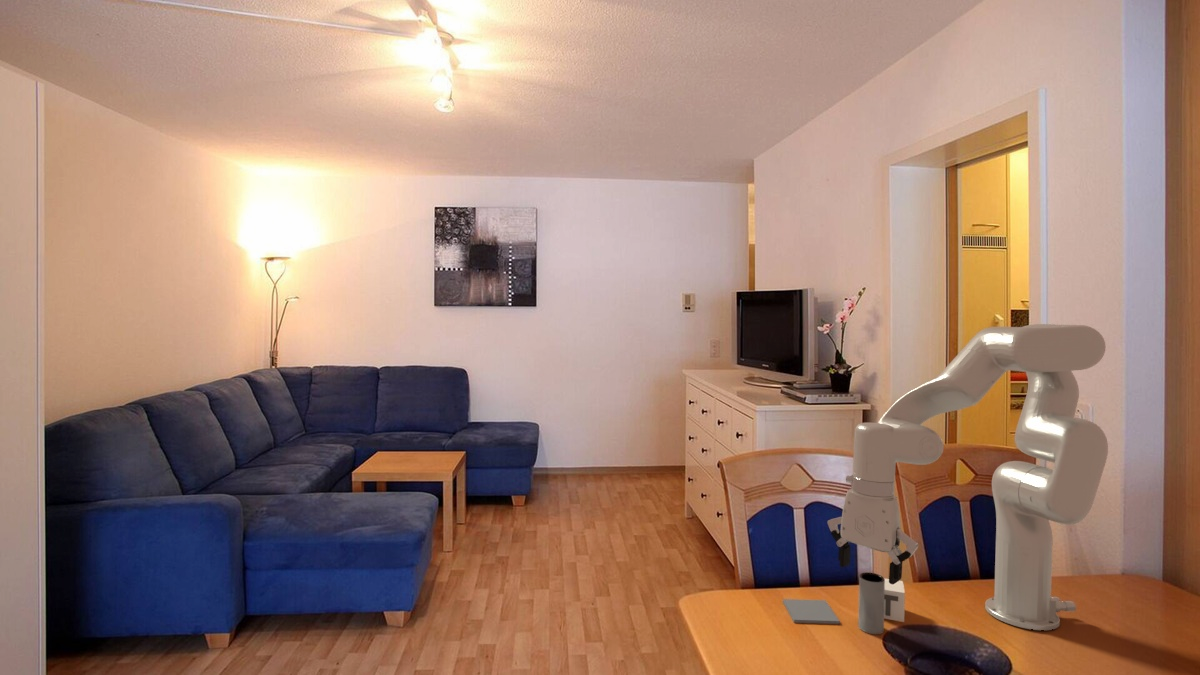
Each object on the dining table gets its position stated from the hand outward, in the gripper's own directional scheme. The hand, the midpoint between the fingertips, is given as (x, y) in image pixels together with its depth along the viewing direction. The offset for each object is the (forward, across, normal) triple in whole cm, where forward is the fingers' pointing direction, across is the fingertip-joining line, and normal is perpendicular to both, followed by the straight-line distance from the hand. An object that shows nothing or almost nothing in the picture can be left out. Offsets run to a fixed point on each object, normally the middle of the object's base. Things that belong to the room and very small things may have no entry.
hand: (868, 573), depth 120 cm
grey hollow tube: (+11, +1, +1) cm, 11 cm away
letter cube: (+11, 0, +10) cm, 15 cm away
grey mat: (+11, -11, -2) cm, 16 cm away
